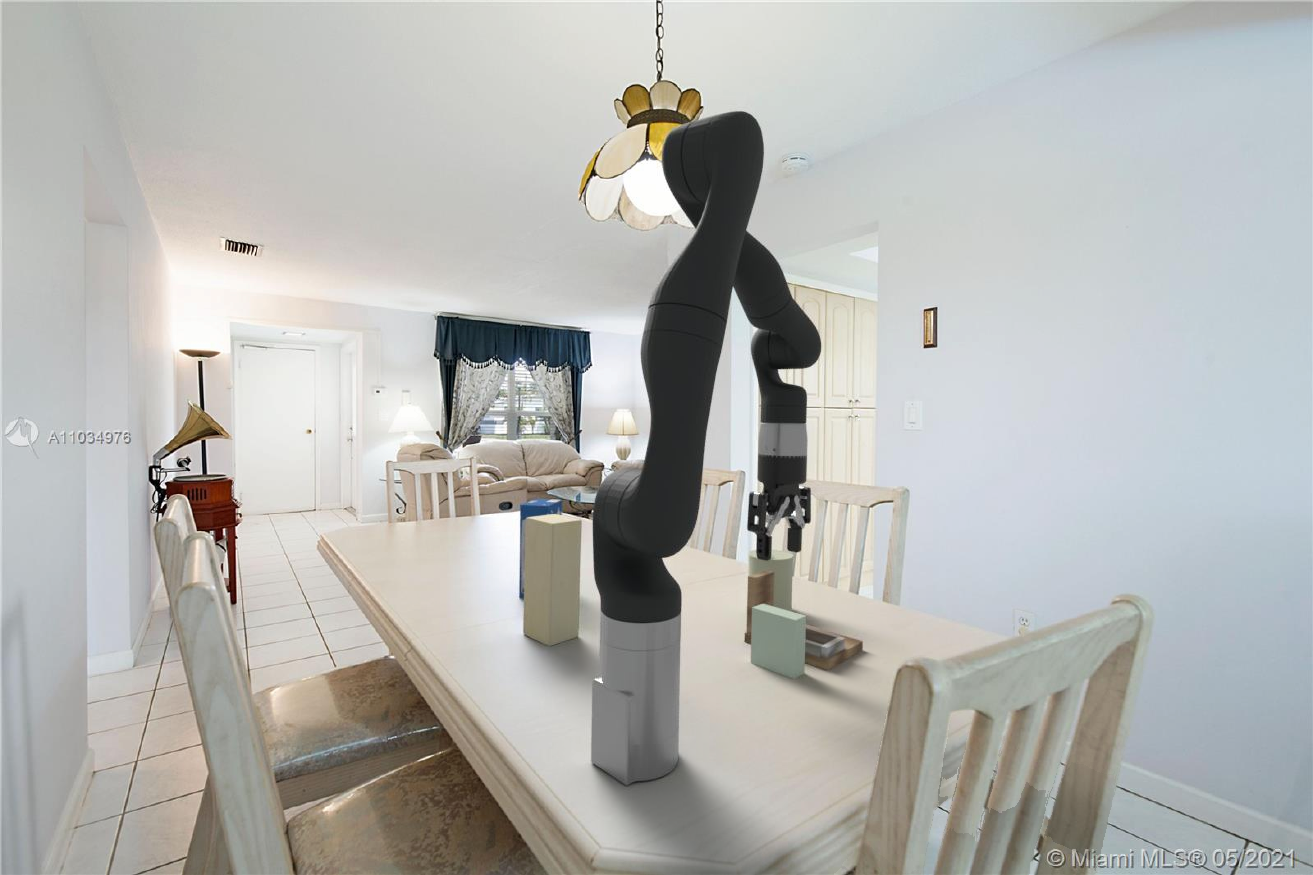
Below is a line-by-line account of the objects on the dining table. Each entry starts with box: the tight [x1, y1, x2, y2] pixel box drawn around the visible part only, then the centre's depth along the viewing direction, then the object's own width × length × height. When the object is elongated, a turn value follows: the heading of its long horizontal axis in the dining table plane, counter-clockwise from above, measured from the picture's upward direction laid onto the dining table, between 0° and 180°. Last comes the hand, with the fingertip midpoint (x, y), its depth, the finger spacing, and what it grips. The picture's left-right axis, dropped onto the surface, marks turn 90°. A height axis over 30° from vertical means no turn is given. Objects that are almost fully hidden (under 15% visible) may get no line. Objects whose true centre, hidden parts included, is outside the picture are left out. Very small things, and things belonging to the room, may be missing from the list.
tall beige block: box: [522, 514, 582, 647], centre depth 105 cm, size 8×7×21 cm
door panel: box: [750, 604, 807, 679], centre depth 93 cm, size 3×8×9 cm, turn 45°
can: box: [747, 549, 794, 612], centre depth 122 cm, size 9×9×12 cm
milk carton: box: [518, 498, 563, 599], centre depth 131 cm, size 10×6×20 cm, turn 172°
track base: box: [744, 571, 864, 671], centre depth 103 cm, size 12×16×12 cm
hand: (779, 555), depth 93 cm, fingers open, 8 cm apart
